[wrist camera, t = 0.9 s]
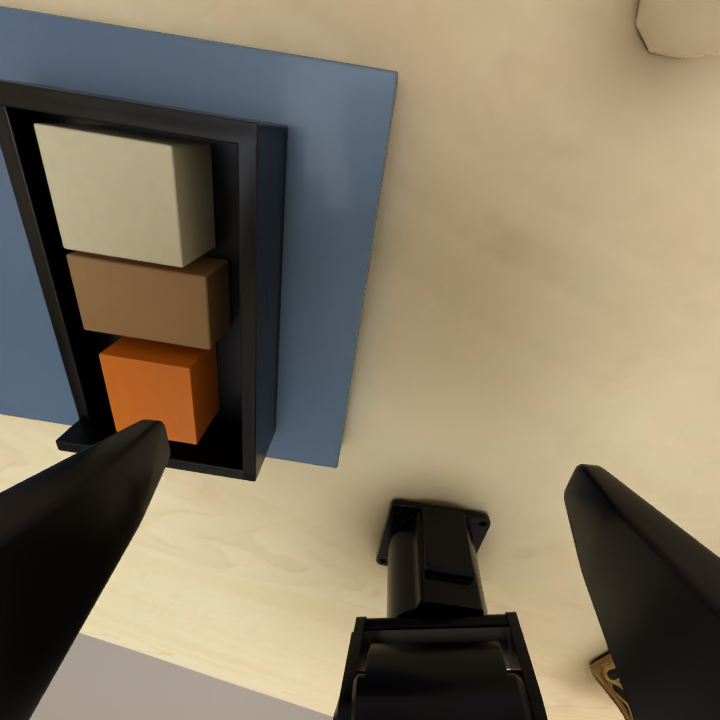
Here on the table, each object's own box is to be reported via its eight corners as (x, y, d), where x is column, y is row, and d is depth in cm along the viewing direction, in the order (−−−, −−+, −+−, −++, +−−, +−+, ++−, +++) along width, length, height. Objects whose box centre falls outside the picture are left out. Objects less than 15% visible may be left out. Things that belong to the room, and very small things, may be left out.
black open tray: (275, 431, 21) (255, 482, 18) (107, 404, 21) (58, 450, 18) (288, 125, 14) (257, 122, 11) (32, 83, 14) (-73, 68, 10)
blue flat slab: (341, 444, 23) (336, 473, 21) (-56, 380, 23) (-98, 403, 21) (398, 79, 14) (398, 70, 12) (-253, -29, 14) (-358, -55, 12)
